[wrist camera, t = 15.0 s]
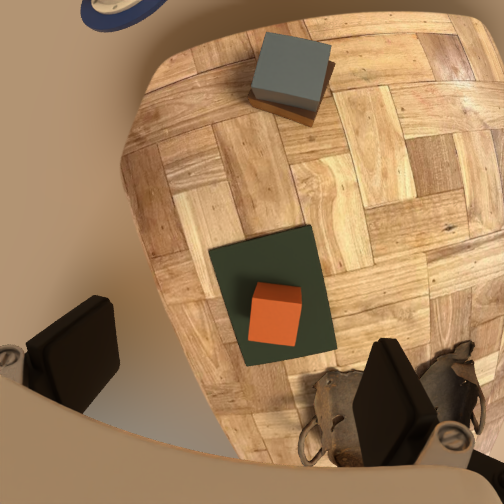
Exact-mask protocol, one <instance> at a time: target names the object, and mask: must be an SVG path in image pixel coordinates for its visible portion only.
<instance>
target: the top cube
mask: <svg viewBox="0 0 504 504" xmlns="http://www.w3.org/2000/svg"><path fill="white" fill-rule="evenodd" d="M301 307H302V297H301V287H295V286H287V285H278V284H270V283H262V282H258V283H257V286H256V288H255V291H254V294H253V297H252V305H251V315H250V325H249V335H248V340H249V341H256V342H263V343H271V344H279V345H287V346H295V342H296V336H297V331H298V325H299V319H300V313H301Z"/></svg>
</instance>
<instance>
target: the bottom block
mask: <svg viewBox="0 0 504 504" xmlns="http://www.w3.org/2000/svg"><path fill="white" fill-rule="evenodd" d="M334 67H335V63H334V62H331V61H329V60H328V65H327V70H326V74H325V79H324V83H323V88H322V92H321V97H320V101H319V104H318V107H317V110H316V112H314V111H310V110H306V109H302V108H298V107H294V106H289V105H285V104H280V103H276V102H271V101H266V100H261V99H256V97H255V95H254V93H253V90H252V88H251V90H250V92H249V94H248V97H247V98H248V99H249V101H250V103H251V105H252V107H255V108H258V109H261V110H264V111H267V112H270V113H273V114H276V115H279V116H282V117H284V118H287V119H290V120H293V121H296V122H298V123H301V124H304V125H306V126H309V127H312V125H313V123H314V120H315V117H316V115H317V112H318V109H319V107H320V104H321V101H322V99H323V96H324V93H325V91H326V88H327V85H328V83H329V80H330V77H331V75H332V72H333V69H334Z"/></svg>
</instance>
